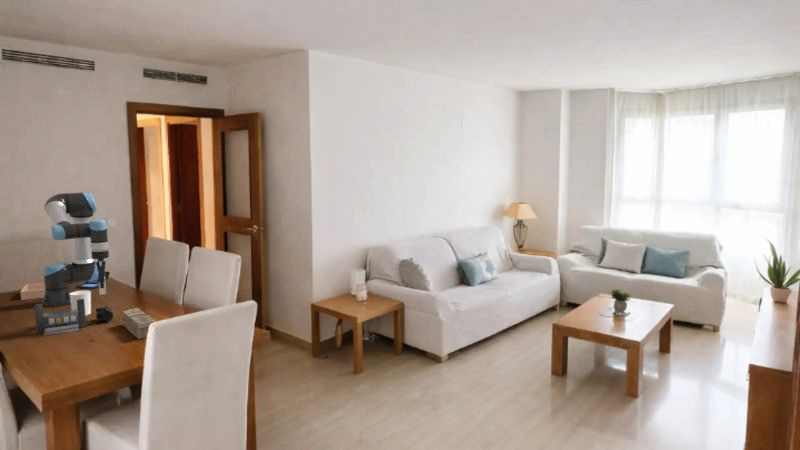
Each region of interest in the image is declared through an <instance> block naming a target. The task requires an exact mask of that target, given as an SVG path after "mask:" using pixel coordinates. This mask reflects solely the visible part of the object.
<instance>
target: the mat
mask: <svg viewBox="0 0 800 450" xmlns="http://www.w3.org/2000/svg"><path fill="white" fill-rule="evenodd" d="M79 329H80V328H79V324H74V325H67V326H59V327H52V328H44V331H45V332H44V333H43V334H42V335H43V336H44V337H45V336H53V335H59V334H67V333H74V332H79Z"/></svg>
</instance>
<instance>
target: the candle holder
mask: <svg viewBox="0 0 800 450" xmlns="http://www.w3.org/2000/svg"><path fill="white" fill-rule="evenodd" d="M69 295H70V302H71V303H70V308H71V310H78V308H77V300H78V299H84V304H85V317H87V316H88V315H89V316H90V315H91V313H92V291H91V290H88V289H85V290H84V289H83V290H77V291H73V292H72V291H71V293H70V294H69Z"/></svg>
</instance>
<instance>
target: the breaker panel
mask: <svg viewBox="0 0 800 450" xmlns="http://www.w3.org/2000/svg"><path fill="white" fill-rule="evenodd" d="M43 320H44V329H46V328H54V327H61V326H69V325H76V324H79V320H78V310H72V309H71V310H65V311H64V310H63V311H55V312H46V313H43Z"/></svg>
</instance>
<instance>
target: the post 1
mask: <svg viewBox="0 0 800 450" xmlns="http://www.w3.org/2000/svg"><path fill="white" fill-rule="evenodd" d="M34 314H35V316H34V318H35V325H36V327H35V328H36V335H43V334H44V332H45V328H44V320H43V315H44V309H43V304H42V303H35V304H34Z"/></svg>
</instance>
